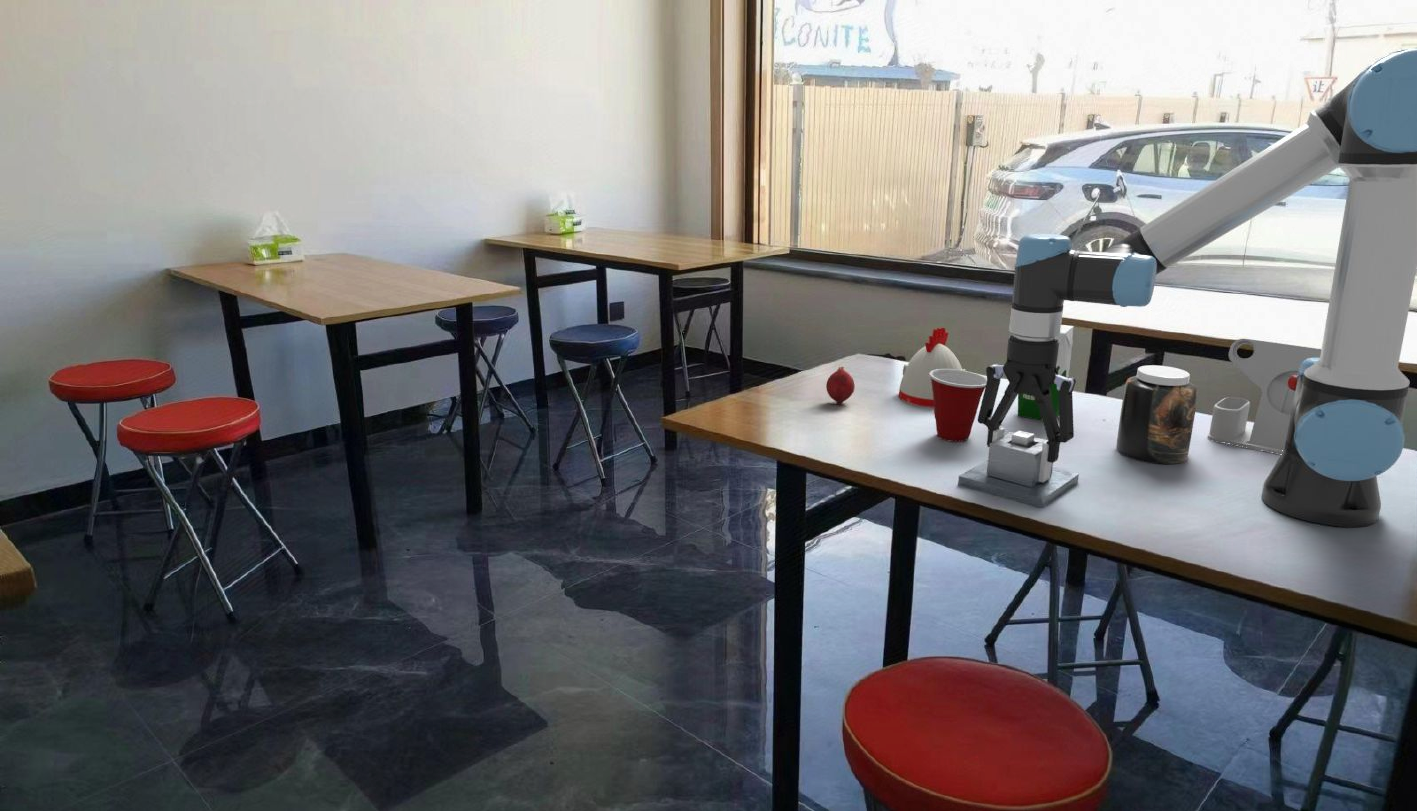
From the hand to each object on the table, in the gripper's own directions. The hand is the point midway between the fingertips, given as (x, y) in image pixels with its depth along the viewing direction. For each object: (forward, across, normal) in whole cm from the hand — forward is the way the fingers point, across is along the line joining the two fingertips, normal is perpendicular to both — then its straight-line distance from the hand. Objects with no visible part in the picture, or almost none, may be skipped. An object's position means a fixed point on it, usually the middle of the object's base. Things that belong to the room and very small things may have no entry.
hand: (1019, 473), depth 150 cm
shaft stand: (+2, 0, 0) cm, 2 cm away
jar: (+2, -11, -30) cm, 32 cm away
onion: (+2, +47, -17) cm, 50 cm away
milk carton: (+2, +13, -38) cm, 40 cm away
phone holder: (+2, -24, -49) cm, 55 cm away
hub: (0, 0, 0) cm, 0 cm away
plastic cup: (+2, +19, -14) cm, 24 cm away
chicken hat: (+2, +35, -34) cm, 49 cm away
